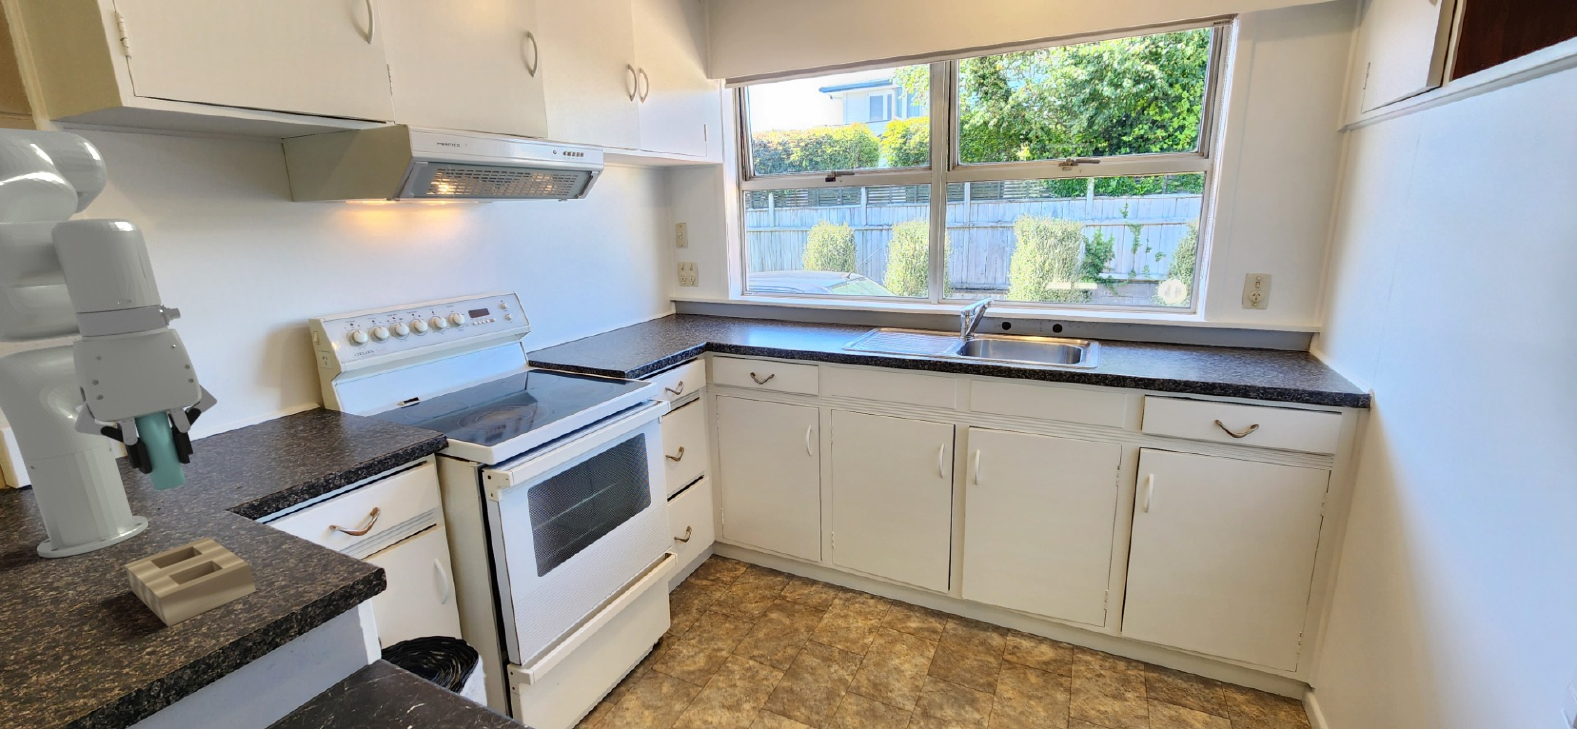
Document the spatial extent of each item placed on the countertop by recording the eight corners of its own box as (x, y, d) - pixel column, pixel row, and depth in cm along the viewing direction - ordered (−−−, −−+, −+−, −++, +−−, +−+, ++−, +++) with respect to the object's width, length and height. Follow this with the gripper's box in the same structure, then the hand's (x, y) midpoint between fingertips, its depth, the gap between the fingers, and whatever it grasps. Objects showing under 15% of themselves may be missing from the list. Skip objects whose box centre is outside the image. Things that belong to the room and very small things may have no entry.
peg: (151, 487, 84) (128, 412, 81) (181, 479, 86) (160, 405, 84) (158, 491, 82) (135, 414, 80) (189, 482, 84) (168, 408, 82)
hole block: (132, 591, 90) (124, 565, 89) (215, 561, 97) (208, 536, 96) (168, 626, 81) (159, 597, 80) (256, 591, 88) (249, 564, 88)
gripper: (199, 312, 88) (233, 443, 92) (17, 334, 75) (65, 485, 79) (219, 314, 84) (254, 450, 88) (29, 337, 71) (80, 496, 75)
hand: (164, 465), depth 83 cm, fingers closed on peg, 3 cm apart
